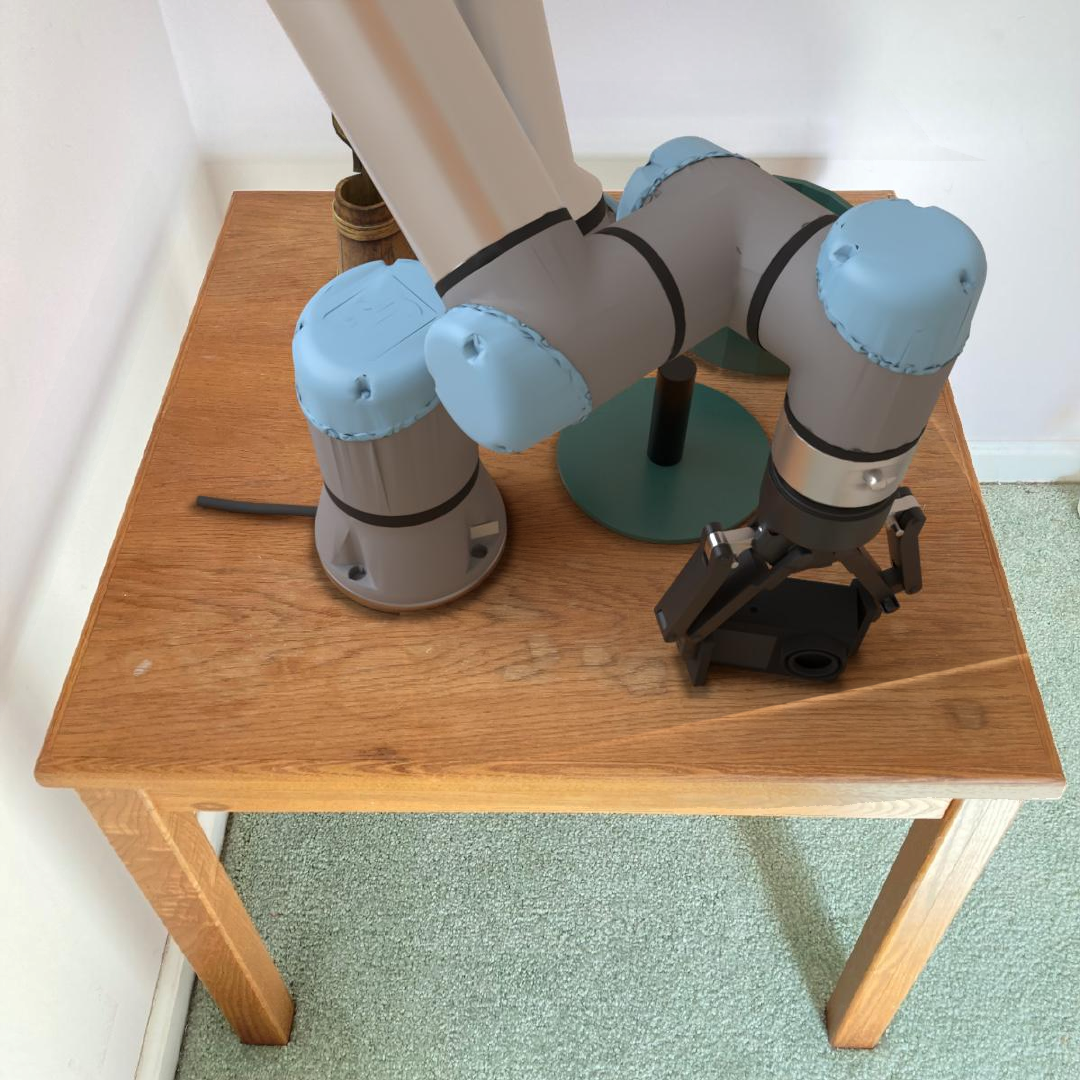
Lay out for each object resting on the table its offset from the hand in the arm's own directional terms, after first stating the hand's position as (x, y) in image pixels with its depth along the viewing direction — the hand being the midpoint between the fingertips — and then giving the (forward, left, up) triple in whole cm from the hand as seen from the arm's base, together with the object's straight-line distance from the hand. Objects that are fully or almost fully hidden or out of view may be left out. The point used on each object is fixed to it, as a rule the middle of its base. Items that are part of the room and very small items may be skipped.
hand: (768, 657), depth 76 cm
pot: (+12, +36, 0) cm, 38 cm away
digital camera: (0, 0, 0) cm, 0 cm away
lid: (-2, +20, 0) cm, 20 cm away
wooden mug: (-22, +50, 0) cm, 55 cm away
